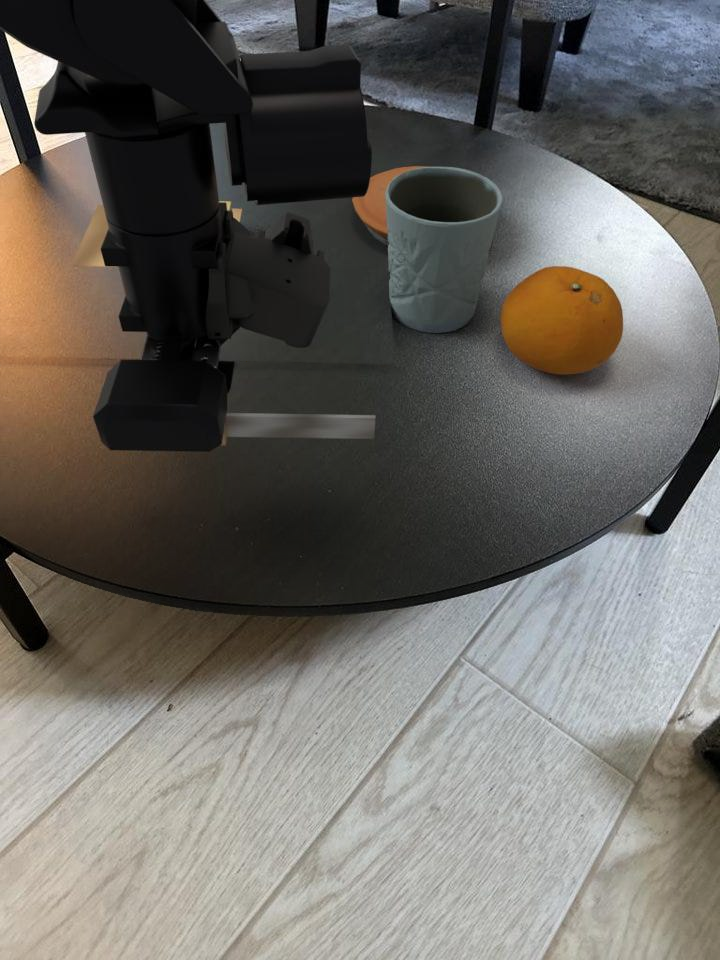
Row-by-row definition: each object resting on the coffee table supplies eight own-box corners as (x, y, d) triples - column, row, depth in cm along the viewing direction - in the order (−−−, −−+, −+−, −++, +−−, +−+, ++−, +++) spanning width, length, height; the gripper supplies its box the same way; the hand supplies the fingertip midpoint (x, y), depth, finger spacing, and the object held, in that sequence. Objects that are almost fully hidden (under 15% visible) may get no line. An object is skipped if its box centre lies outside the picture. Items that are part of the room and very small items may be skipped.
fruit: (573, 410, 64) (599, 336, 58) (474, 356, 68) (488, 282, 62) (629, 353, 69) (658, 280, 63) (533, 307, 73) (552, 234, 67)
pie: (447, 288, 75) (454, 245, 71) (324, 239, 80) (324, 196, 77) (514, 225, 84) (523, 183, 80) (398, 184, 89) (402, 143, 85)
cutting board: (73, 276, 74) (70, 265, 74) (100, 214, 82) (97, 204, 81) (232, 279, 75) (230, 269, 74) (243, 218, 83) (242, 208, 82)
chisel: (121, 444, 49) (114, 423, 48) (127, 423, 50) (120, 402, 49) (374, 448, 50) (375, 427, 48) (373, 427, 51) (375, 406, 49)
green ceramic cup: (502, 312, 73) (526, 197, 64) (429, 353, 68) (445, 236, 59) (430, 267, 78) (443, 154, 68) (358, 302, 73) (361, 187, 64)
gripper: (314, 322, 31) (319, 538, 43) (325, 129, 44) (326, 339, 55) (52, 317, 31) (129, 536, 43) (137, 124, 43) (178, 336, 55)
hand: (203, 424), depth 49 cm, fingers closed on chisel, 2 cm apart
